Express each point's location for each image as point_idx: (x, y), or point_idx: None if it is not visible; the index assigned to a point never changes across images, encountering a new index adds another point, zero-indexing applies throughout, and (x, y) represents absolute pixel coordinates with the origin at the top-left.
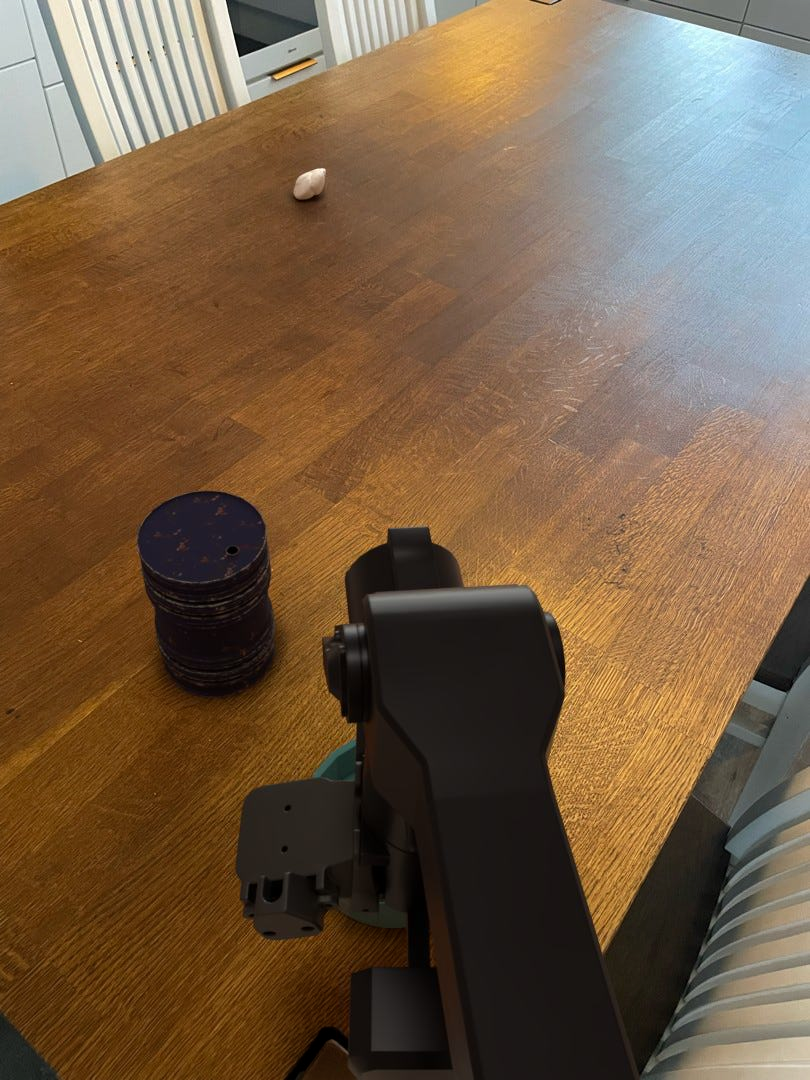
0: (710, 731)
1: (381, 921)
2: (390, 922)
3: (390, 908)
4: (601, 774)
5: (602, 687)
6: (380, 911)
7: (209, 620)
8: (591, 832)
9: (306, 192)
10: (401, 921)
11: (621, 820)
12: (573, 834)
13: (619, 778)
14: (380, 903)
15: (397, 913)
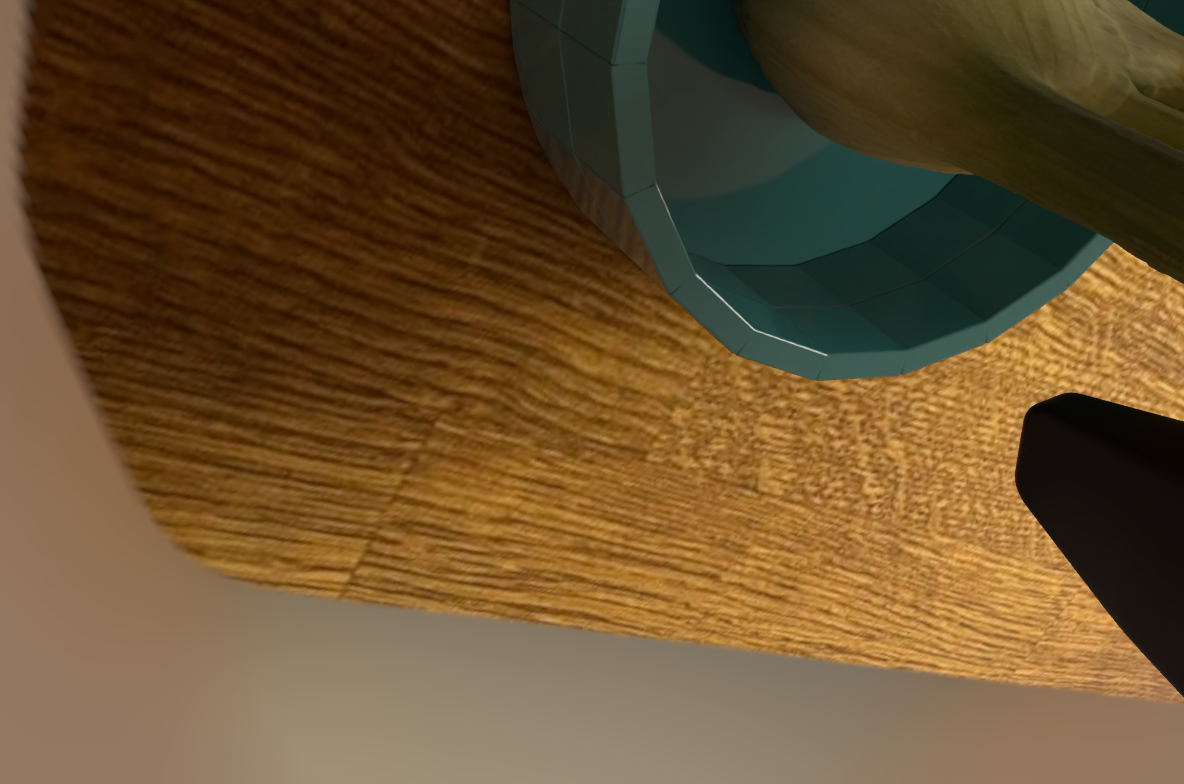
0: (1038, 678)
1: (533, 26)
2: (534, 61)
3: (593, 98)
4: (972, 515)
5: None
6: (575, 48)
7: None
8: (834, 533)
9: None
10: (544, 107)
11: (861, 583)
12: (830, 497)
13: (959, 552)
14: (612, 67)
15: (575, 114)
